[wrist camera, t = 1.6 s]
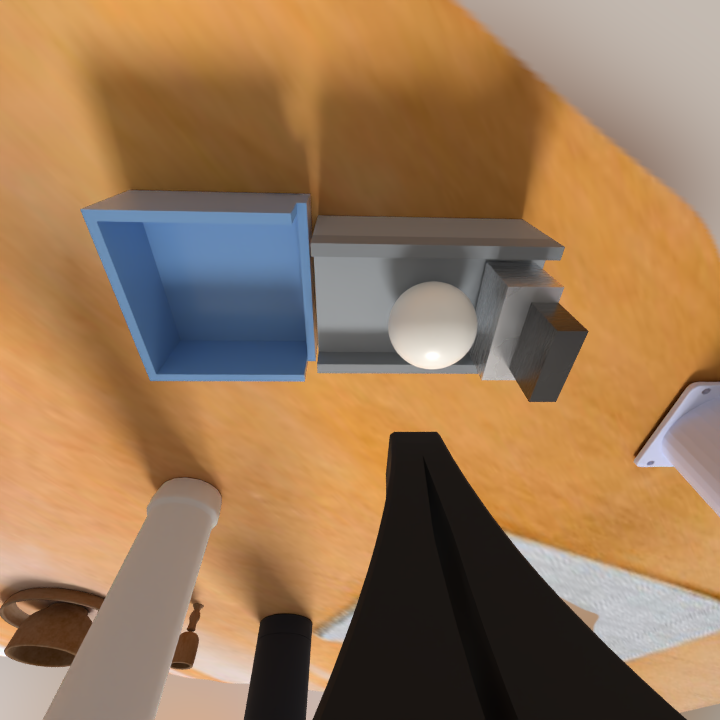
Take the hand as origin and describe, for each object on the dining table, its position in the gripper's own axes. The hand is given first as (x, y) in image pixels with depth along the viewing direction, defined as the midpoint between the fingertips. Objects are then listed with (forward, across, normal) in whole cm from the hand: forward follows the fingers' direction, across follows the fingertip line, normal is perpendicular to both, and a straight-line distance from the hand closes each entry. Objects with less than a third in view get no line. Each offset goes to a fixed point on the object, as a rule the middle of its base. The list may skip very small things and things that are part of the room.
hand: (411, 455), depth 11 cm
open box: (+10, +8, -1) cm, 13 cm away
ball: (+6, -2, -1) cm, 6 cm away
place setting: (+11, +30, +40) cm, 51 cm away
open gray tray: (+10, -1, -1) cm, 10 cm away
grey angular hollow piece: (+7, -5, -1) cm, 9 cm away
